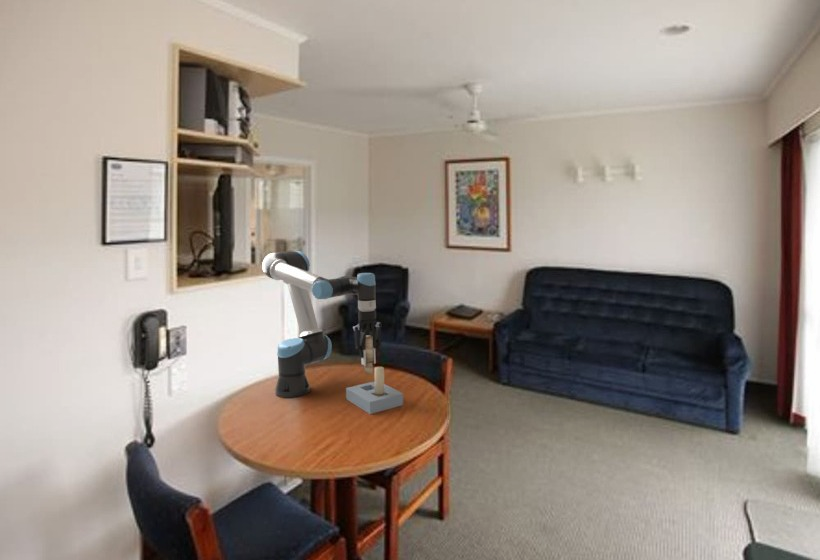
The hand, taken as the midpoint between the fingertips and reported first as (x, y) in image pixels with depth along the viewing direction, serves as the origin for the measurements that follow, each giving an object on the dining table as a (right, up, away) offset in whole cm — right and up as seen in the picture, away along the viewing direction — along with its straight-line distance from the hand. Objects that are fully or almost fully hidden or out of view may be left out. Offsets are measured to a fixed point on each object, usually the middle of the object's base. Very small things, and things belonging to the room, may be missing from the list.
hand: (368, 363), depth 206 cm
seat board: (+3, -16, -1) cm, 16 cm away
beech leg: (0, -4, 0) cm, 4 cm away
